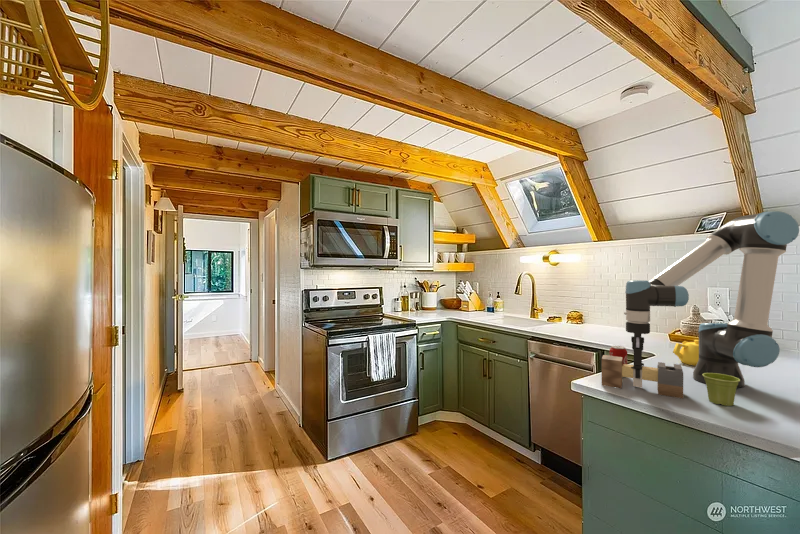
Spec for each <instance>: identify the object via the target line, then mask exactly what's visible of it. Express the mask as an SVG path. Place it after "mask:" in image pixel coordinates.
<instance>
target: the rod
mask: <svg viewBox="0 0 800 534" xmlns="http://www.w3.org/2000/svg"><path fill="white" fill-rule="evenodd" d="M633 365H634V364H628V363H627V364H622V377H624V378H628V379H633V369H632V368H631V367H633ZM666 370H669V369H666ZM643 380H644V381H647V382H648V381H650V382H656V383H657V382H658V368H657V367H654V366H653V367H651V366H645V365H644V366H642V381H643Z"/></svg>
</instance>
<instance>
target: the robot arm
mask: <svg viewBox="0 0 800 534" xmlns="http://www.w3.org/2000/svg"><path fill="white" fill-rule="evenodd" d="M799 234H800V226H799V223H798V221H797V220H796V218H794V217H793V216H792V215H791V214H789V213H787V212H785V211H780V210H773V211H763V212H758V213H754V214H748V215H742V216H739V217H736V218H734V219H731V220H730V221H728V222H726V223H725V224H722V225H721V226H720V227H718V228H717V229H716V230H714V231H713V232H711V233H710V234H708V235H707V236H706V239H705V240H704V242H702V243H701V244H699V245H698V246H697V247H695V248H694V249H693V250H690V252H688V253H687V254H685V255H684V256H683V257H681V258H679V260H677V261H675V262H674V263H672V264H670V266H668V267H667V268H666V269H664V270H662V272H660V273H659V274H656V276H654V277H653V278H651V279H650V280H645V279H644V280H640V279H639V280H638V279H634V280H628V281H626V285H625V311H624V312H623V315H625V320H626V322H625V331H626V332H627V333H631V334H633V336H630V337H631V340H630V341H631V349H632V350H633V363H632V365H633V367H631V368H632V369H633V378H632V383H633V384H632V385H633V387H636V388H643V380H642V366H645V363H643V359H642V358H643V351H644V344H645V337H643V336H642V335H647V334H650V333H651V323H650V322H651V307H674V308H676V307H685V306H686V305H687V304H688V303H689V299H690V295H689V291H688V290H687V288H686V287H684V286H681V284H683V283H684V282H685V281H687V280H689V279H690V278H691V277H693V276H695V275H696V274H697V273H699V272H700V271H702V270H703V269H704V268H706V267H707V266H708V265H710V264H712V263H713V262H714V261H716V260H717V259H719V258H721V257H722V256H724V255H726V256H727V255H730V254H731V253H733V252H735V251H737V250H739V251H740V252H742V253H743V260H742V266H741V272H740V273H741V274H740V277H739V278H740V279H739V286H738V291H737V297H736V305H735V311H734V316H733V319H732V320H731V321H729V322H727V323H726V322H725V323H723V322H722V323H718V322H702V323H700V324H699V325H698V331H697V332H698V340H699V360H698V362H697V365H696V366H694V369H693V372H692V378H693V380H696V381H698V382H701V383H702V384H703V383H704V384H706V381H705V379H704V377H703V375H702V374H703V373H717V374H724V375H729V376H733V377H736V378H739V379H740V382H738V385H737V388H738V389H739V388H744V387H745V383H746V382H745V378H744V374H743V373H742V370H741V368H740V366H739V365H742V366H748V367H750V368H764V367H768V366H769V365H771V364H773V363H774V362H775V361H776V360H777V359H778V358H779V355H780V345H779V344H778V343H777V341H776V339H774V338H773V332H774V330H773V329H772V328H771V326H769V324H768V323H769V318H770V310H771V306H772V305H771V304H772V299H773V293H774V286H775V281H776V279H775V278H776V274H777V268H778V261H779V257H780V256H781V255H783V254H785V253H786V252H787V251H786V250H787V247H788V245H789V244H792V242H793V241H795V240H796V239H797V238H798V236H799ZM737 388H736V389H737Z"/></svg>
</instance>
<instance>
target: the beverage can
mask: <svg viewBox="0 0 800 534" xmlns="http://www.w3.org/2000/svg"><path fill="white" fill-rule="evenodd" d="M609 356H617V357H623V362H622V364H628V350H627V348H626V347H625V346H621V345H611V346H610V348H609ZM623 378H625V377H622V379H623Z"/></svg>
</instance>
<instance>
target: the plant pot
mask: <svg viewBox="0 0 800 534" xmlns="http://www.w3.org/2000/svg"><path fill="white" fill-rule="evenodd" d="M702 375H703V377H704V379H705V381H706V383H705V385H706V390H707V397H708V400H709V402H710V403H713V404H715V405H720V404H721V405H722V406H727V407H728V406H729V407H732V406H734V404H735V398H736V392H737V385H738V382H740V379H739V378H736V377H733V376H729V375H724V374H717V373H703V374H702Z"/></svg>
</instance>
